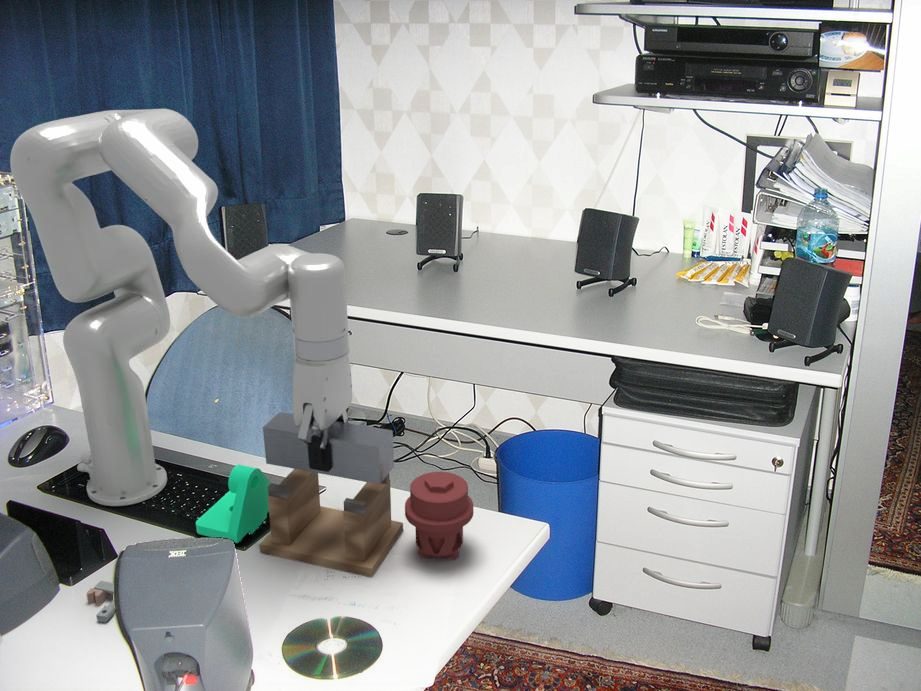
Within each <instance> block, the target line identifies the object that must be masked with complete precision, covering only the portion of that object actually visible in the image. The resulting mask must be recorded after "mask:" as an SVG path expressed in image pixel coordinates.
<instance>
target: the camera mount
mask: <svg viewBox="0 0 921 691" xmlns="http://www.w3.org/2000/svg"><path fill="white" fill-rule="evenodd" d="M227 481H228V482H227V483H228V484H227V485H228V490H229V491H227V492H226V493H225V495H224V494H223V496H222V497H221V498H220V499H219V500H218V501H217V502H215V503H214V504H213V505H212V506H211V507H210V508H209V509H208V510H207V511H205V513H203V514H202V515H201V516H200V517H199V518H198V519H196V521H195V528H196V533H197V534H198V535H201V536H205V537H211V538H213V537H222V538H228V539H232V540H234V542H235V543H234V542H233V543H234V544H238V543H239V542H240V541H242V540H243V538H244V537H245V536H246V535H248V534H247V533H250V534H251V535H253V534H254V533H255V532H256V530H258V528H259V527H261V526H262V524H263V523H264V522H265V521H266V520H267V519H268V514H269V506H268V486H269V485H270V484H271V483H272V482H270V480H269V479H268V478H267V476H266V475H265V473H264V472H263V471H262V470H261V469H260V468H258V467H253V466H248V465H242V464H236V465H235V466H234V467H233V468H232V470H231V472H230V473H229V477H228V480H227ZM266 518H267V519H266ZM265 519H266V520H265ZM264 520H265V521H264ZM263 521H264V522H263ZM262 522H263V523H262ZM258 526H259V527H258ZM250 534H249V535H250Z"/></svg>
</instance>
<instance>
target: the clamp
mask: <svg viewBox="0 0 921 691" xmlns="http://www.w3.org/2000/svg"><path fill="white" fill-rule="evenodd" d="M113 594H114V582H109V581H104V580H100V581H99V582H97V584H95V585H94V587H93V588H91V587H90V589H89V590H87V591H86V597H87V598H86V599H87V603H88V605H92V604H95V603H96V607H99V606H101V605H102V604H103V603H105V601H110V603H109V604H108V605H104V606H103V607H102V608H100V610H99V612H97V614H96V615H95V616H96V620H97V621H98V622H101V623H107V622H108V621H109V620H110V619H111V617H112V616H113V615H114V614H116V613H115V612H116V608H114V600H113Z"/></svg>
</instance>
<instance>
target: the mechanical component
mask: <svg viewBox="0 0 921 691" xmlns="http://www.w3.org/2000/svg"><path fill="white" fill-rule="evenodd" d="M409 493H410V494H409V495H410V496H409V497H407V499H406V501H405V504H404V516H405V518H406V520H407V522H408V523H410V524H411V525H412V526H413V527H415V545H416V547H417V554H418V556H419V557H420V558H431V557H432V558H434V557H436V558H437V557H439V558H446V559H449V560H457V559H458V558H459V556H460V549H461V548H462V547H463V543H464V527H465V526H466V525H467V524H469V523H470V522H471V521H472V519H473V516H474V502H473V500H472V498H471V497H470V496H469V485H468V482H467V481H466V480H465V478H463V477H462V476H460V475H458V474H456V473H452V472H447V471H431V472H427V473H424V474H421V475H418V476H417V477H416V478H414V479H413V480H412V481H411V483H410V488H409Z"/></svg>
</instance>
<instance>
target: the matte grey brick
mask: <svg viewBox="0 0 921 691" xmlns="http://www.w3.org/2000/svg"><path fill="white" fill-rule="evenodd" d="M313 424H317V422H316V421H314V423H313ZM300 427H301V426H299V427H297V426H295V424H294V418H293V413H289V412H282V411H279V412H278V413H277V414H276V415H274V417H273V418H271V419H270V420H269V421H267V422H266V424H264V425H263V427H262V432H263V441H264V443H263V444H264V453H265V464H266V465H272V466H276V467H282V468H289V469H298V470H304V471H309V472H315V473H318V474H322V475H326V476H332V477H337V478H342V479H343V478H344V479H349V480H354V481H359V482H363V483H364V482H365V483H366V482H369V483H375V484H381V483H382V482H383V480H384V479H385V478H386V477H387V475H388V474H389V475H390V472H391V471H393V469H394V467H395V466H394V465H395V463H394V462H395V460H394V434H393V432H394V431H393V430H392V429H385V428H380V427H379V428H378V427H373V426H367V425H361V424H355V423H349V422H348V423H344V422H338V421H335V422H334V423H333V424H332V425H331V426H329V427H328V435H327V445H328V446H330V458H331V470H330V471H329V472H325V471H320V470H314V469H311V468H310V467H309V457H308V446H306V443H305V442H303V441H301V440H299V439H298V435H299V431H300ZM320 434H321V431H318V430H313V435H317V436H318V437H319V438H320Z"/></svg>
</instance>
